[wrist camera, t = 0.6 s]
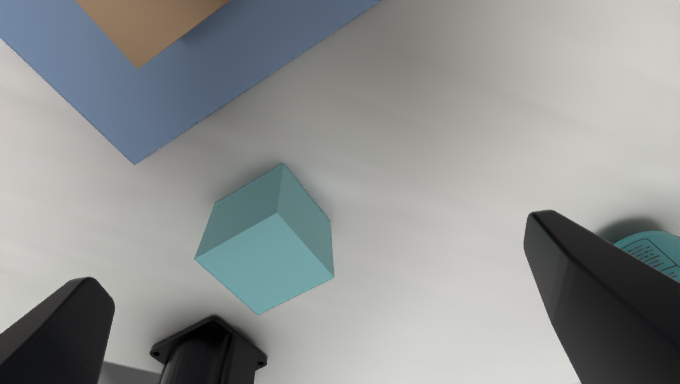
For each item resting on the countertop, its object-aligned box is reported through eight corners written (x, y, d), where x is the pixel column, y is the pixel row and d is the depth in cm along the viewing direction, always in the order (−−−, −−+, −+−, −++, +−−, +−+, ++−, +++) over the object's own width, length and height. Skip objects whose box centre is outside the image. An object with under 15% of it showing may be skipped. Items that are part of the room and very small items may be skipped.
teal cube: (266, 254, 26) (257, 315, 22) (215, 202, 24) (194, 259, 19) (330, 220, 25) (334, 277, 21) (283, 161, 22) (276, 212, 18)
